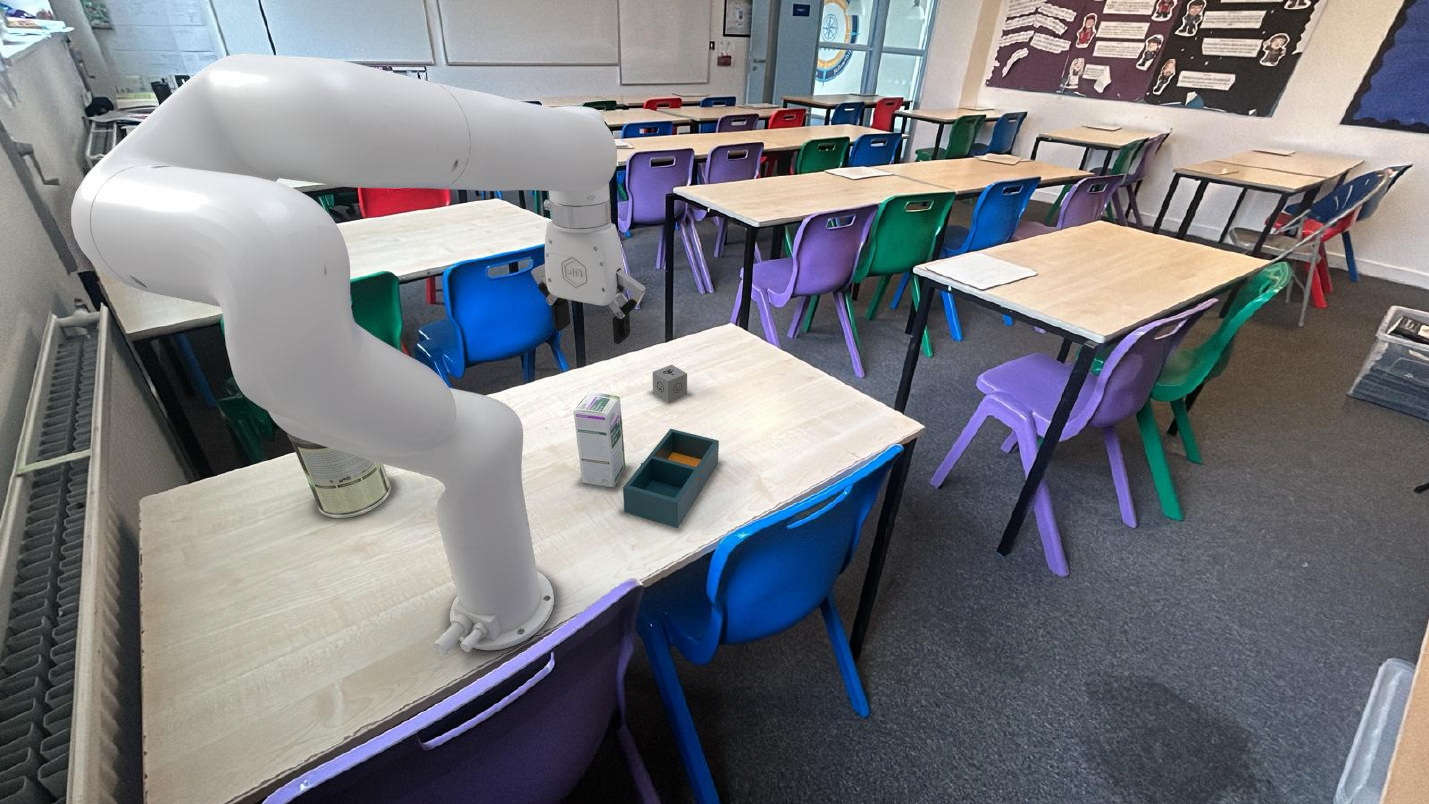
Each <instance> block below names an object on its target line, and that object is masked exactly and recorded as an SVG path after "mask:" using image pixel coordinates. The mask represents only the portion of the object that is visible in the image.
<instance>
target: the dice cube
mask: <svg viewBox="0 0 1429 804" xmlns="http://www.w3.org/2000/svg"><path fill="white" fill-rule="evenodd" d="M652 394H654V395H655V396H657V397H659V398H660V399H662V400H663V401H665V402H666V403H668V404H669V403H671V402H674V401H675V400H678V399H680V398H682V397H685V396H687V395H688V373H687V372H686V371H684V370H682V369H681V368H679V367H677V366H675V365H673V364H669V365H667V366H664V367H661V368H659V369H656V370H654V371H652Z"/></svg>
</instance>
